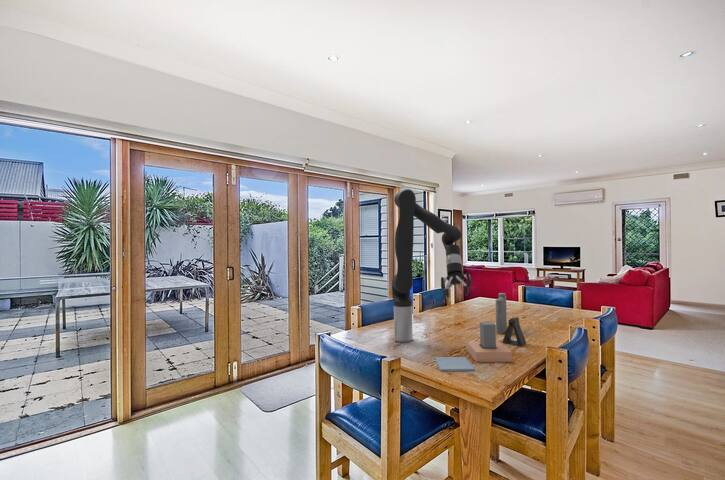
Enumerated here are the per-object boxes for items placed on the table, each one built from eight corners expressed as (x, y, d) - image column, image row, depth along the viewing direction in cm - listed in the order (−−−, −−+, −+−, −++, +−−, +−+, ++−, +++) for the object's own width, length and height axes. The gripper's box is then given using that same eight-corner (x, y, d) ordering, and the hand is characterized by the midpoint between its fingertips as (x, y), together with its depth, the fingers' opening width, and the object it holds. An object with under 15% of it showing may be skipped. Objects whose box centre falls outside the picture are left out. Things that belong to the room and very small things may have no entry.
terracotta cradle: (476, 361, 140) (476, 352, 140) (466, 350, 155) (466, 341, 155) (511, 361, 140) (511, 351, 140) (498, 349, 154) (498, 341, 154)
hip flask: (501, 326, 194) (500, 290, 194) (508, 327, 192) (507, 291, 192) (495, 333, 181) (494, 295, 181) (503, 334, 179) (503, 295, 179)
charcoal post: (484, 357, 145) (483, 324, 145) (480, 353, 150) (479, 321, 150) (496, 357, 145) (495, 324, 145) (492, 353, 150) (491, 321, 150)
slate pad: (440, 371, 131) (440, 369, 131) (434, 359, 144) (434, 357, 144) (475, 370, 131) (474, 368, 131) (465, 358, 144) (465, 356, 144)
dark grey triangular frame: (526, 343, 163) (525, 318, 163) (522, 346, 158) (521, 320, 158) (506, 339, 169) (506, 315, 169) (502, 342, 164) (501, 317, 164)
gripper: (437, 264, 171) (439, 295, 163) (466, 259, 164) (470, 291, 156) (442, 270, 176) (445, 300, 168) (470, 265, 170) (474, 296, 162)
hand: (457, 296), depth 162 cm, fingers open, 8 cm apart
